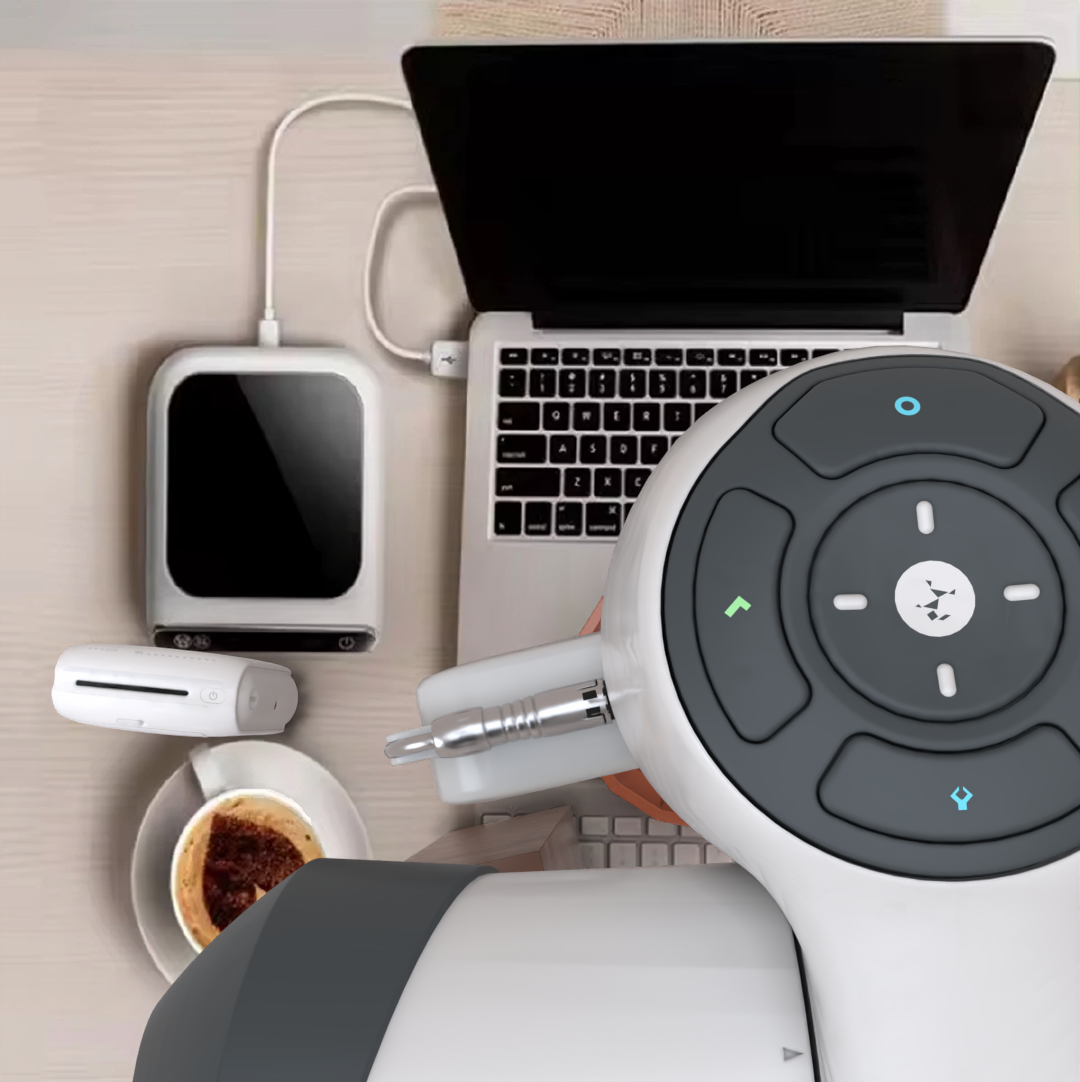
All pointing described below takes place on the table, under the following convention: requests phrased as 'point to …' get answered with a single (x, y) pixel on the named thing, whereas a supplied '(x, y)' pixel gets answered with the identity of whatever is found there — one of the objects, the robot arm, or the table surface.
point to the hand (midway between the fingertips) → (746, 676)
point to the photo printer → (172, 691)
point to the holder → (512, 844)
